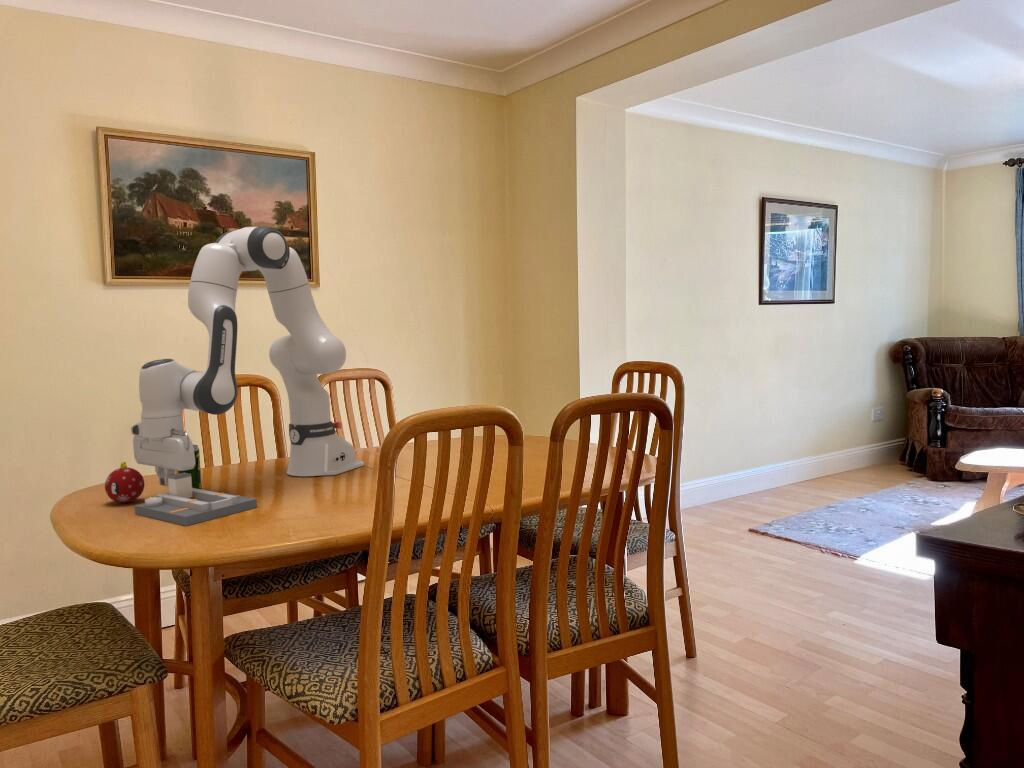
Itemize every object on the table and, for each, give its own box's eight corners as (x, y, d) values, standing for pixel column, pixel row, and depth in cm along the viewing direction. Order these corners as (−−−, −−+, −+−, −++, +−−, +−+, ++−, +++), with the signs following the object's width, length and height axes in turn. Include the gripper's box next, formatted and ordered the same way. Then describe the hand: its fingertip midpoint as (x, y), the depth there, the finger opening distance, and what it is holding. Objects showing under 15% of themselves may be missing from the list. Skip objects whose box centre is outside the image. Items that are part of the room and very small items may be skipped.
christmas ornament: (153, 498, 189) (150, 458, 188) (130, 507, 180) (127, 465, 179) (121, 498, 190) (118, 458, 189) (98, 506, 181) (94, 465, 180)
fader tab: (185, 495, 181) (183, 472, 180) (192, 497, 179) (191, 473, 179) (169, 499, 178) (167, 475, 177) (176, 500, 176) (175, 476, 175)
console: (205, 497, 188) (204, 482, 188) (257, 507, 177) (256, 491, 177) (135, 514, 174) (134, 498, 173) (186, 526, 162) (185, 509, 162)
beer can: (181, 496, 190) (178, 448, 189) (177, 492, 194) (174, 446, 193) (204, 493, 193) (201, 446, 192) (199, 489, 197) (196, 443, 196)
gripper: (200, 429, 177) (204, 487, 178) (151, 423, 189) (155, 478, 190) (175, 432, 172) (179, 493, 173) (126, 427, 183) (130, 483, 185)
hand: (166, 485), depth 182 cm, fingers closed
